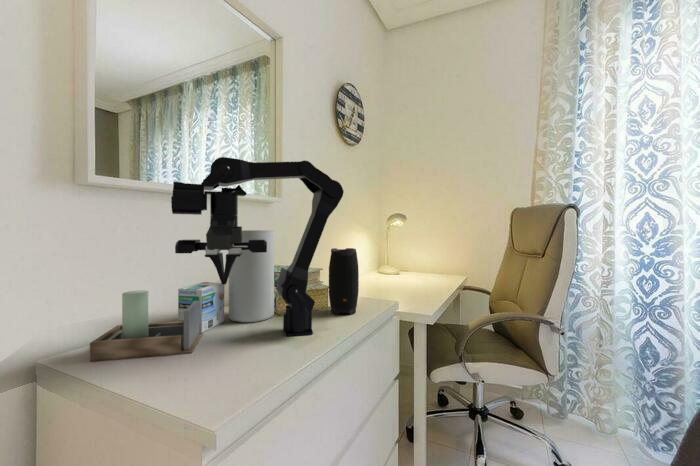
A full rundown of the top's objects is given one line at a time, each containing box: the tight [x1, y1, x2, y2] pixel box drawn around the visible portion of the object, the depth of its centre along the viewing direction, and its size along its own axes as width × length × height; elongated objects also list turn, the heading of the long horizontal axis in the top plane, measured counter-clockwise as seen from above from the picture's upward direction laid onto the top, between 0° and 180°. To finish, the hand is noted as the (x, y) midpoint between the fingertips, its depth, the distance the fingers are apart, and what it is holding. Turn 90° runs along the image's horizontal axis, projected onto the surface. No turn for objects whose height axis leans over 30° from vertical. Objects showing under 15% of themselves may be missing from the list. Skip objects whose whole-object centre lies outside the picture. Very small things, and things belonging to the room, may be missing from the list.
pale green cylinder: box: [121, 289, 150, 339], centre depth 67 cm, size 5×5×11 cm
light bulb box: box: [177, 281, 225, 334], centre depth 82 cm, size 11×7×11 cm, turn 172°
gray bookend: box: [107, 301, 200, 350], centre depth 68 cm, size 16×10×8 cm, turn 104°
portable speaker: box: [328, 247, 360, 316], centre depth 97 cm, size 9×9×20 cm
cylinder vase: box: [228, 229, 275, 323], centre depth 91 cm, size 12×12×25 cm
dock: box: [89, 321, 204, 363], centre depth 68 cm, size 18×11×4 cm, turn 104°
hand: (224, 284), depth 71 cm, fingers closed
